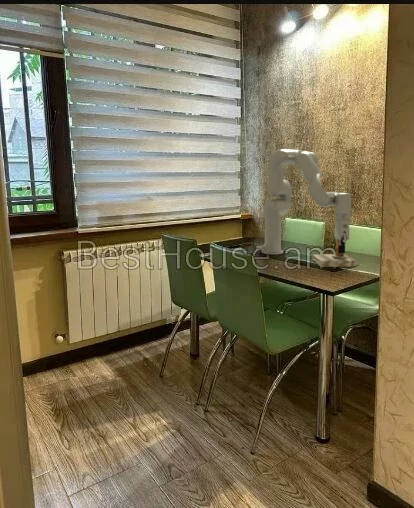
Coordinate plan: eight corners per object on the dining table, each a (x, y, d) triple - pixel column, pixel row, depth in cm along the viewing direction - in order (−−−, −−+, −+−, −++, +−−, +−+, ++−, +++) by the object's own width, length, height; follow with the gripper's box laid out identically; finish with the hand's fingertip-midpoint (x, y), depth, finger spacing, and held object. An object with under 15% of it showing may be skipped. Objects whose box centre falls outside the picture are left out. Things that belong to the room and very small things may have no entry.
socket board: (320, 266, 206) (321, 261, 206) (312, 259, 222) (312, 254, 221) (356, 266, 206) (356, 260, 206) (345, 259, 222) (345, 254, 222)
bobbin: (336, 258, 211) (337, 239, 209) (333, 256, 216) (334, 237, 214) (346, 258, 211) (347, 239, 209) (343, 256, 216) (344, 237, 214)
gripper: (355, 219, 201) (353, 255, 205) (343, 215, 217) (341, 249, 221) (340, 219, 201) (338, 255, 205) (329, 215, 217) (327, 249, 221)
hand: (340, 251), depth 213 cm, fingers closed on bobbin, 4 cm apart
